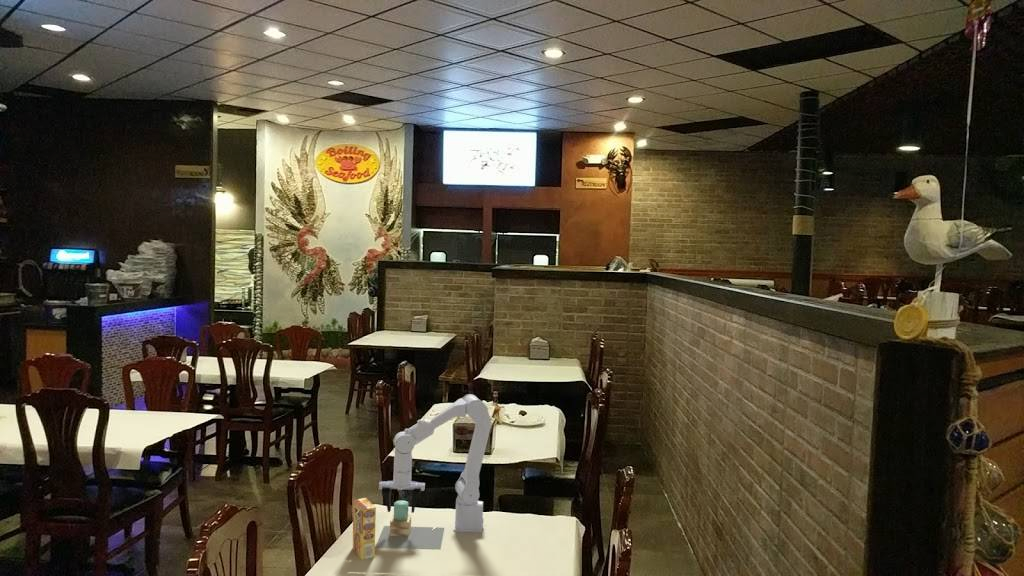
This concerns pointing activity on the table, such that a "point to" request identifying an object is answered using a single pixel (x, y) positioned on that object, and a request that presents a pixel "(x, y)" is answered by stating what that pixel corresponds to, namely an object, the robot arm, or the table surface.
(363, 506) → the candy box
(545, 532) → the table surface
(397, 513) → the green rounded knob
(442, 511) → the table surface
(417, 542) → the slate mat
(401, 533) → the birch slab low
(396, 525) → the oak slab top
